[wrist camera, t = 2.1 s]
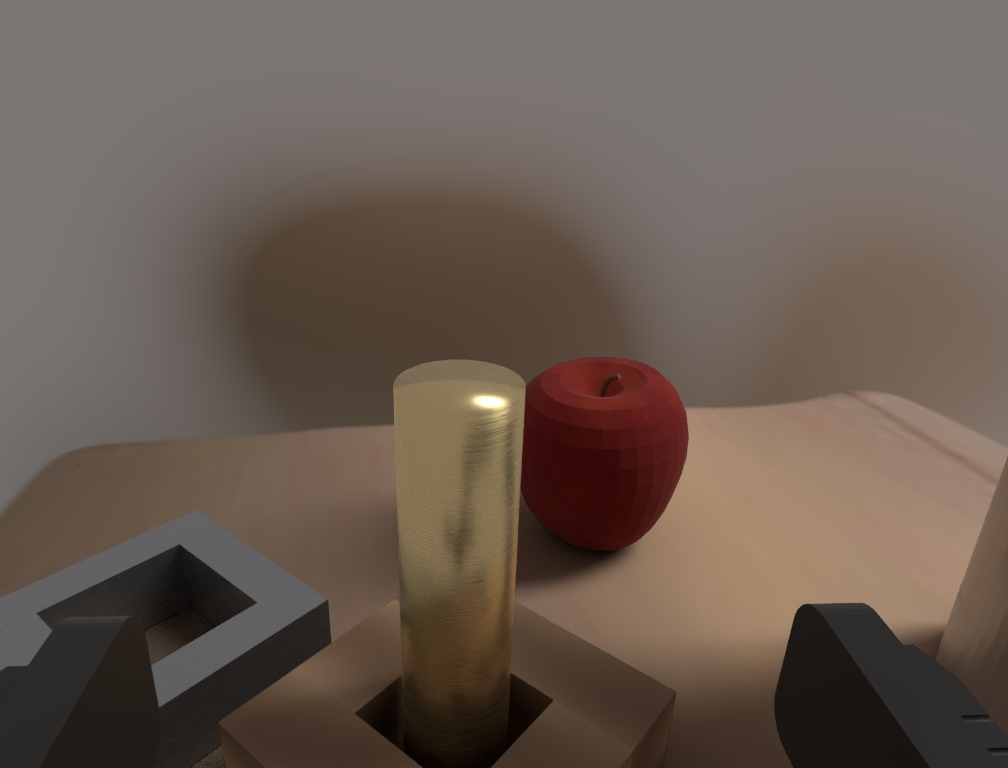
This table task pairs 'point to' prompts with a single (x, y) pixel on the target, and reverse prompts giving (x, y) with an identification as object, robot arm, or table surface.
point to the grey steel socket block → (166, 590)
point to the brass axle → (457, 556)
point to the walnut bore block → (379, 719)
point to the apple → (601, 450)
